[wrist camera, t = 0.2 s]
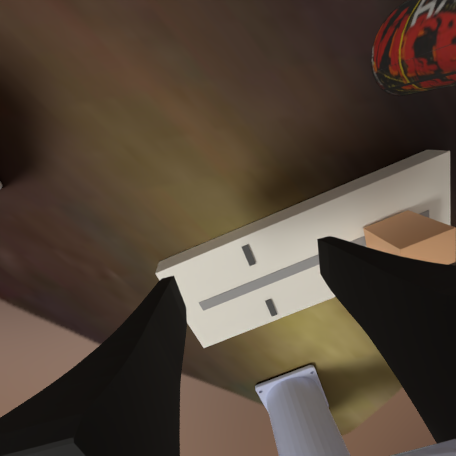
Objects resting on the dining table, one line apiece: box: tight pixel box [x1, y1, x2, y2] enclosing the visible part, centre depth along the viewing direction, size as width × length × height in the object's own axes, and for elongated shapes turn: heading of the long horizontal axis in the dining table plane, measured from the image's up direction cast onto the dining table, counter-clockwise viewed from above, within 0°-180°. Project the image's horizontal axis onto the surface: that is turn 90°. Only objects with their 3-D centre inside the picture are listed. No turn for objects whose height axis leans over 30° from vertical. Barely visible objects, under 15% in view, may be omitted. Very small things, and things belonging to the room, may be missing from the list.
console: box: [155, 149, 450, 348], centre depth 22 cm, size 10×26×2 cm, turn 112°
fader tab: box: [363, 210, 456, 265], centre depth 18 cm, size 3×4×4 cm
